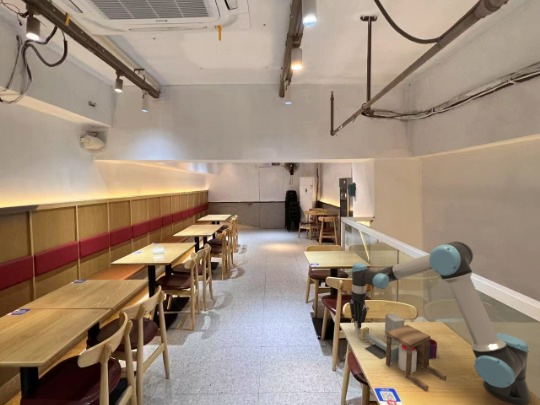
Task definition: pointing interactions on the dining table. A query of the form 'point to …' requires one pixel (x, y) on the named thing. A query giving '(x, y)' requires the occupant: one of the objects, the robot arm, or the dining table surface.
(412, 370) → the pill bottle
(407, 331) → the tunnel
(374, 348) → the mat
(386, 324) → the small box
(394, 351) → the plunger
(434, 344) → the mug
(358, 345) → the dining table surface
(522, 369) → the robot arm
